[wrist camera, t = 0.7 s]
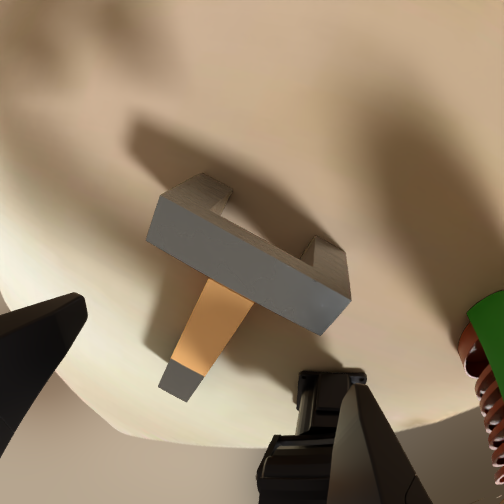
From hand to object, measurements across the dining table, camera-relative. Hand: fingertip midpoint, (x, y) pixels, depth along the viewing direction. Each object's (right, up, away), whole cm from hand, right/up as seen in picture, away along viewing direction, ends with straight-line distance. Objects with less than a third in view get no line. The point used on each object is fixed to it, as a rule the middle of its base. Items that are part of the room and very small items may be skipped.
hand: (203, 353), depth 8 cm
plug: (-3, -4, +18) cm, 19 cm away
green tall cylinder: (+24, -4, +11) cm, 27 cm away
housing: (+2, +4, +12) cm, 13 cm away
